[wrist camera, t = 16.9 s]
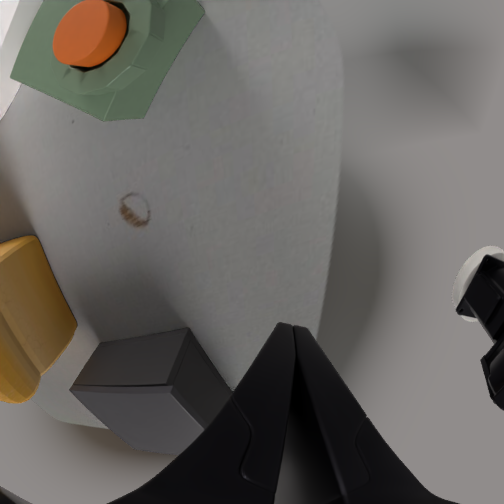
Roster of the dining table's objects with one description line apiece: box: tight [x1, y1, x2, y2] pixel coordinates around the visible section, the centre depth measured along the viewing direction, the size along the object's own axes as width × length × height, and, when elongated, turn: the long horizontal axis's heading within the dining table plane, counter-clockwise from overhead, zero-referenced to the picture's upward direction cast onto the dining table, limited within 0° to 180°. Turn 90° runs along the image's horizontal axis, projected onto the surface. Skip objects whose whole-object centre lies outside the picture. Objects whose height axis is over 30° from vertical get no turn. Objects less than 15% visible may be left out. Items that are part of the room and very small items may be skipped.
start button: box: [53, 0, 127, 67], centre depth 9 cm, size 4×4×2 cm
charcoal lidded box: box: [73, 328, 232, 425], centre depth 26 cm, size 13×12×7 cm
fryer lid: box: [70, 385, 209, 455], centre depth 22 cm, size 13×12×1 cm
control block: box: [10, 0, 205, 121], centre depth 12 cm, size 12×9×7 cm
